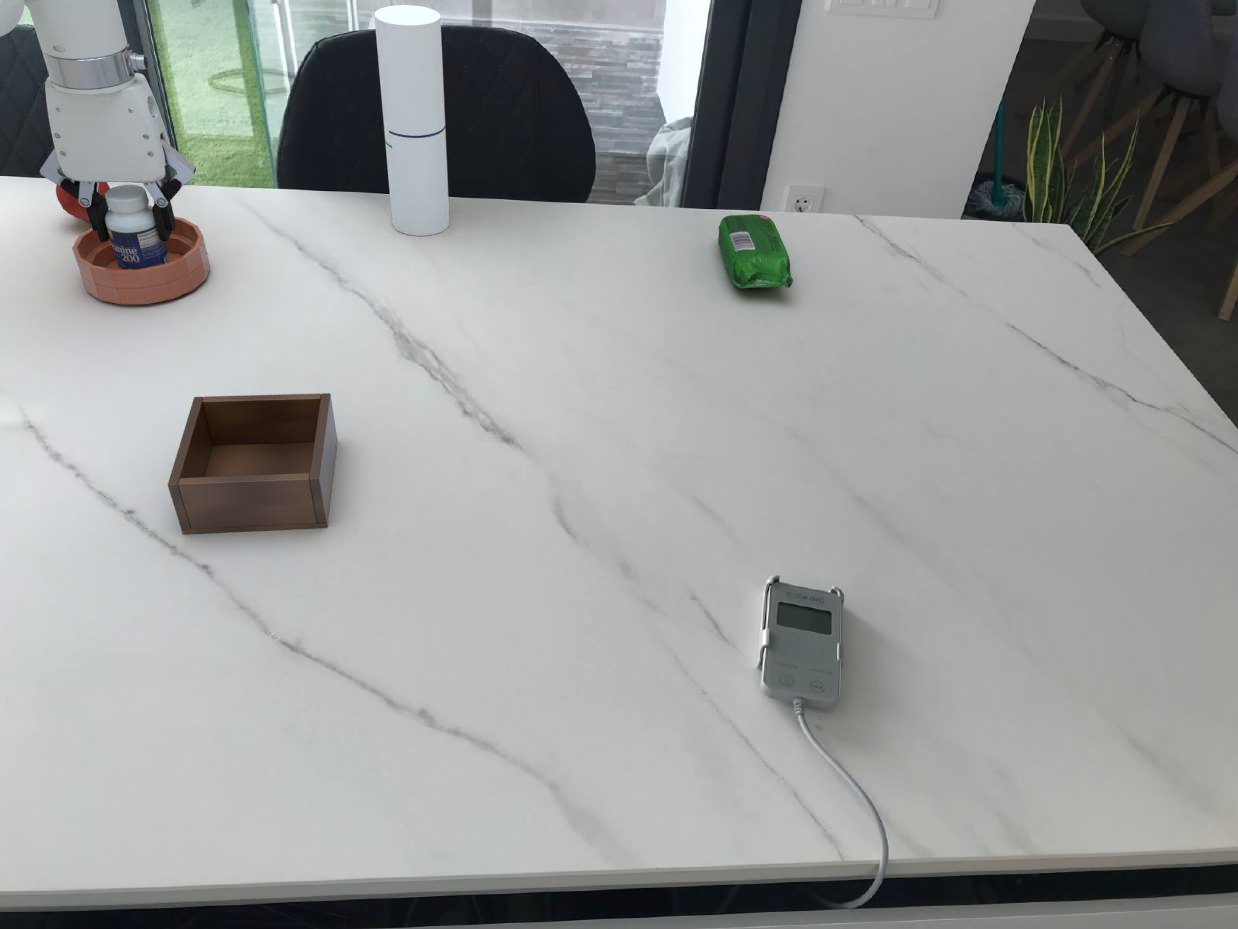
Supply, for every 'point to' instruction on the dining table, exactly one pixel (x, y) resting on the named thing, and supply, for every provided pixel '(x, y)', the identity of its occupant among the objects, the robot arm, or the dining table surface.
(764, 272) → the snack package
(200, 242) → the bowl
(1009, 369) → the dining table surface
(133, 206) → the pill bottle
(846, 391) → the dining table surface
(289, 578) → the dining table surface
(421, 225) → the cylindrical container
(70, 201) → the onion
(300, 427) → the holder
